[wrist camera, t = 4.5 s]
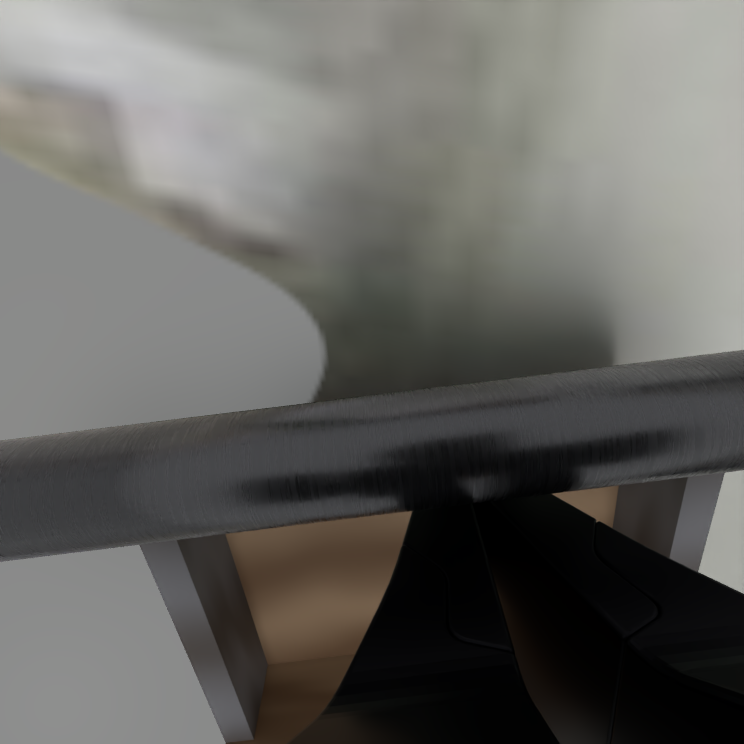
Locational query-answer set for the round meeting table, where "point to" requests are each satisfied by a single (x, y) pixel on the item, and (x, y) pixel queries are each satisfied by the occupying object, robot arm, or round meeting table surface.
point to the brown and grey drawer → (344, 596)
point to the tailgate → (371, 455)
